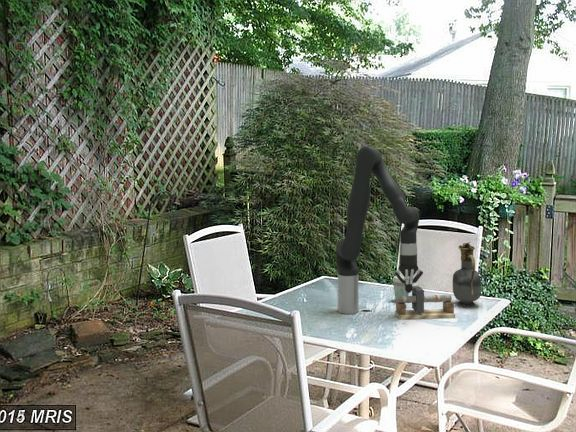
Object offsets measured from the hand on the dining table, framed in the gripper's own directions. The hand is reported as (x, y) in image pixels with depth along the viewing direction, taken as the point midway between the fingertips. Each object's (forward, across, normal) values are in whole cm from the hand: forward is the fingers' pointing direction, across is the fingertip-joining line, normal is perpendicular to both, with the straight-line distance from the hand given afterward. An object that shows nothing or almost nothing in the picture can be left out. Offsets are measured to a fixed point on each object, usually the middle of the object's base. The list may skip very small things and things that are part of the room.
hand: (408, 292), depth 268 cm
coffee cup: (+11, +3, +27) cm, 29 cm away
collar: (+8, +4, 0) cm, 9 cm away
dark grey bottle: (+11, +31, +16) cm, 37 cm away
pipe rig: (+11, +7, 0) cm, 13 cm away
